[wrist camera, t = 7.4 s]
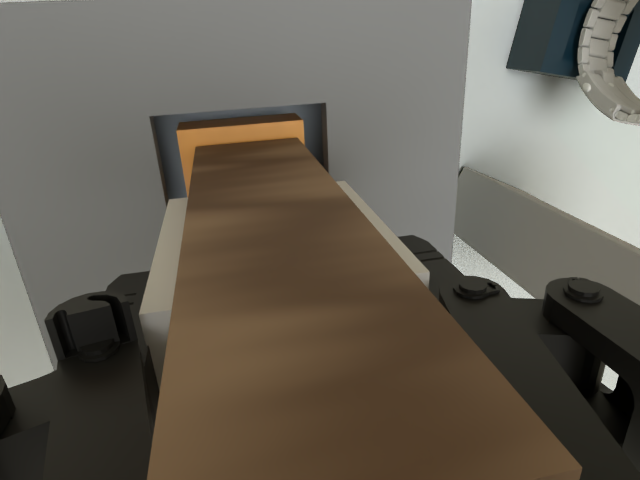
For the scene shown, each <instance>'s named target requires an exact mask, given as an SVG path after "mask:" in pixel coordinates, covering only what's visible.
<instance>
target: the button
mask: <svg viewBox="0 0 640 480" xmlns="http://www.w3.org/2000/svg"><path fill="white" fill-rule="evenodd" d="M176 133H177V139H178V145H179V150H180V156H181V162H182V168H183V174H184V180H185V186H186V192H187V197H188V195H189V188H190V181H191V174H192V167H193V160H194V154H195V147H197V146H208V145H219V144H231V143H242V142H253V141H264V140H276V139H287V138H298V139H299V140H300V141H301V142H302V143H303V144H304V146H305V140H304V123H303V119H302V118H300V117H299V116H298V115H297V114H296V113H288V114H276V115H263V116H251V117H238V118H226V119H213V120H201V121H188V122H179V124H178V127H177V130H176Z"/></svg>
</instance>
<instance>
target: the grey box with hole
mask: <svg viewBox="0 0 640 480" xmlns="http://www.w3.org/2000/svg"><path fill="white" fill-rule="evenodd" d="M471 4H472V0H68V1H39V2H9V3H0V216H1V219H2V221H3V224H4V227H5V230H6V233H7V236H8V239H9V242H10V245H11V247H12V250H13V253H14V256H15V259H16V262H17V265H18V268H19V270H20V273H21V276H22V279H23V282H24V285H25V288H26V291H27V294H28V296H29V299H30V302H31V305H32V308H33V311H34V314H35V317H36V320H37V322H38V325H39V328H40V331H41V334H42V337H43V340H44V343H45V346H46V348H47V351H48V354H49V357H50V360H51V363H52V366H53V369H54V371H55V370H57V362H58V360H57V357H56V354H55V351H54V348H53V346H52V343H51V340H50V337H49V334H48V331H47V328H46V325H45V322H44V320H45V318H46V317H47V315H48V313H49V312H50V311H51V310H53V309H54V308H55V307H57V306H58V305H59V304H61V303H63V302H65V301H67V300H69V299H71V298H74V297H77V296H80V295H84V294H87V293H93V292H100V291H106V289H107V286H108V285H109V284H110V283H112V282H113V281H114V280H115V279H116V278H117V277H119V276H120V275H122V274H130V273H137V272H145V271H150V270H151V266H152V262H153V258H154V254H155V251H156V247H157V243H158V239H159V235H160V232H161V228H162V224H163V220H164V216H165V212H166V209H167V205H168V201H169V199H178V198H187V192H186V186H185V180H184V174H183V168H182V162H181V156H180V150H179V145H178V139H177V133H176V130H177V127H178V124H179V122H188V121H201V120H213V119H226V118H238V117H251V116H263V115H276V114H288V113H296V114H297V115H298V116H299V117H300V118H302V119H303V123H304V140H305V147H306V148H307V149H308V150H309V151H310V152H311V154H312V155H313V156H314V157H315V158H316V159H317V161H318V162H319V163H320V164H321V165H322V166H323V168H324V169H325V170H326V171H327V172H328V173H329V174H330V176H331V177H332V178H333V179H334V180H335V181H336V182H337V181H346V183H347V184H348V185H349V186H350V187H351V188H352V189H353V190H354V191H355V192H356V193H357V194H358V195H359V196H360V198H361V199H362V200H363V201H364V202H365V203H366V204H367V205H368V206H369V207H370V208H371V209H372V210H373V211H374V213H375V214H376V215H377V216H378V217H379V218H380V219H381V220H382V221H383V222H384V223H385V224H386V225H387V226H388V228H389V229H390V230H391V231H392V232H393V233H394V234H395V235H396V236H397V237H400V236H408V235H415V236H417V237H419V238H421V239H424V240H426V241H428V242H429V243H430V244H431V245H432V246H433V247H434V248H436V249H437V252H438V251H439V252H440V253H441V254H442V255H443V256H444V259H447V260H448V261H449V262H450V263H451V262H452V249H453V236H454V223H455V211H456V198H457V185H458V172H459V159H460V146H461V133H462V120H463V107H464V94H465V81H466V69H467V56H468V43H469V30H470V17H471Z"/></svg>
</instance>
